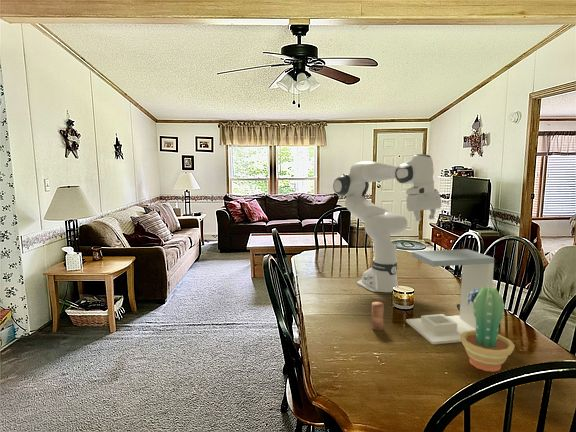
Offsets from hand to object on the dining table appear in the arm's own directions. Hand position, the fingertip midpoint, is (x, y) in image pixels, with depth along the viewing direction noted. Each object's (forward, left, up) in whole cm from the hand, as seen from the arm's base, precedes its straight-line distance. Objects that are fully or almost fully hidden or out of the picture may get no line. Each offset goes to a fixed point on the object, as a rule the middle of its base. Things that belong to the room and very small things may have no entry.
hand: (425, 219), depth 169 cm
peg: (+9, -39, -39) cm, 56 cm away
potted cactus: (+47, -30, -39) cm, 68 cm away
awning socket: (+25, -18, -39) cm, 49 cm away
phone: (+20, +6, -39) cm, 45 cm away
